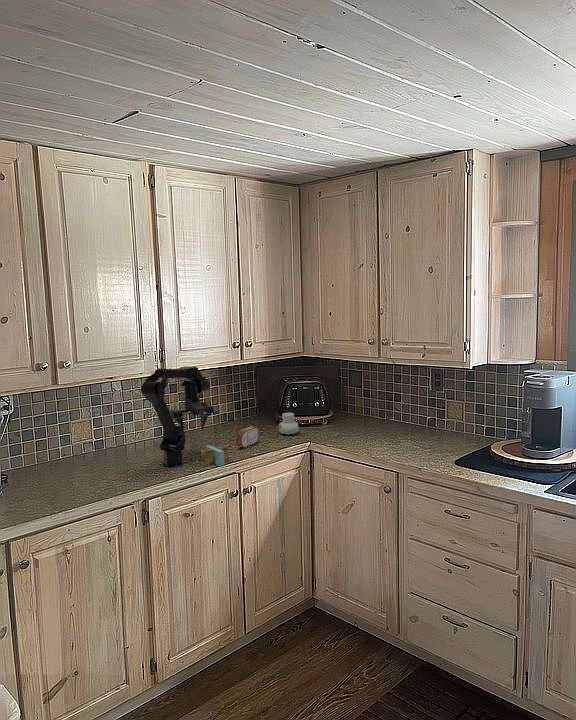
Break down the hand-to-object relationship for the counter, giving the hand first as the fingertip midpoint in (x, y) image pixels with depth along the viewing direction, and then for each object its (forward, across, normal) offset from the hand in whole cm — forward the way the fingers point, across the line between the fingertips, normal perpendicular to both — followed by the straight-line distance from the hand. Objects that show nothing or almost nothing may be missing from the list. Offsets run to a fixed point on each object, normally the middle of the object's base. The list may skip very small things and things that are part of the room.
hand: (192, 430), depth 262 cm
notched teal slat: (+11, +3, -15) cm, 19 cm away
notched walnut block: (+11, +3, -16) cm, 19 cm away
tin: (+12, +27, 0) cm, 29 cm away
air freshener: (+12, +54, +8) cm, 55 cm away
